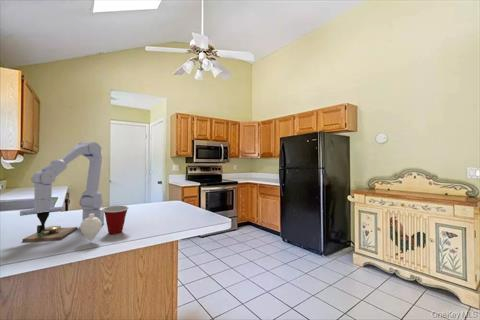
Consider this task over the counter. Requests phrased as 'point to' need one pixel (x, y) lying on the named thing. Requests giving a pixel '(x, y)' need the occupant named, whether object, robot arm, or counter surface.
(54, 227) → the dial
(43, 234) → the dial board
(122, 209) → the plastic cup
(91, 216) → the cream vase
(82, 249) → the counter surface
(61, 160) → the robot arm
